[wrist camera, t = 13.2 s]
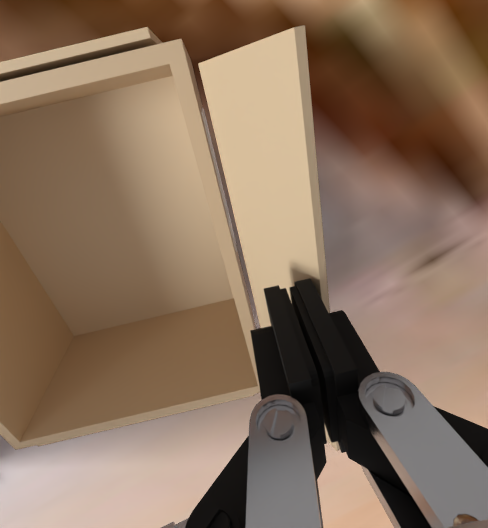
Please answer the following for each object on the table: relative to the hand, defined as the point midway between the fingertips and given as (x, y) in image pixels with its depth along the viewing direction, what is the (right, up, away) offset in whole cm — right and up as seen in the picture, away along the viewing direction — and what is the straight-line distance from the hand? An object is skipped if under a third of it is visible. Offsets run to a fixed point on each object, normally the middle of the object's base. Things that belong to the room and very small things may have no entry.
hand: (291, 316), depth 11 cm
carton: (-11, +5, +12) cm, 17 cm away
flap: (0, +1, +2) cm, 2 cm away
